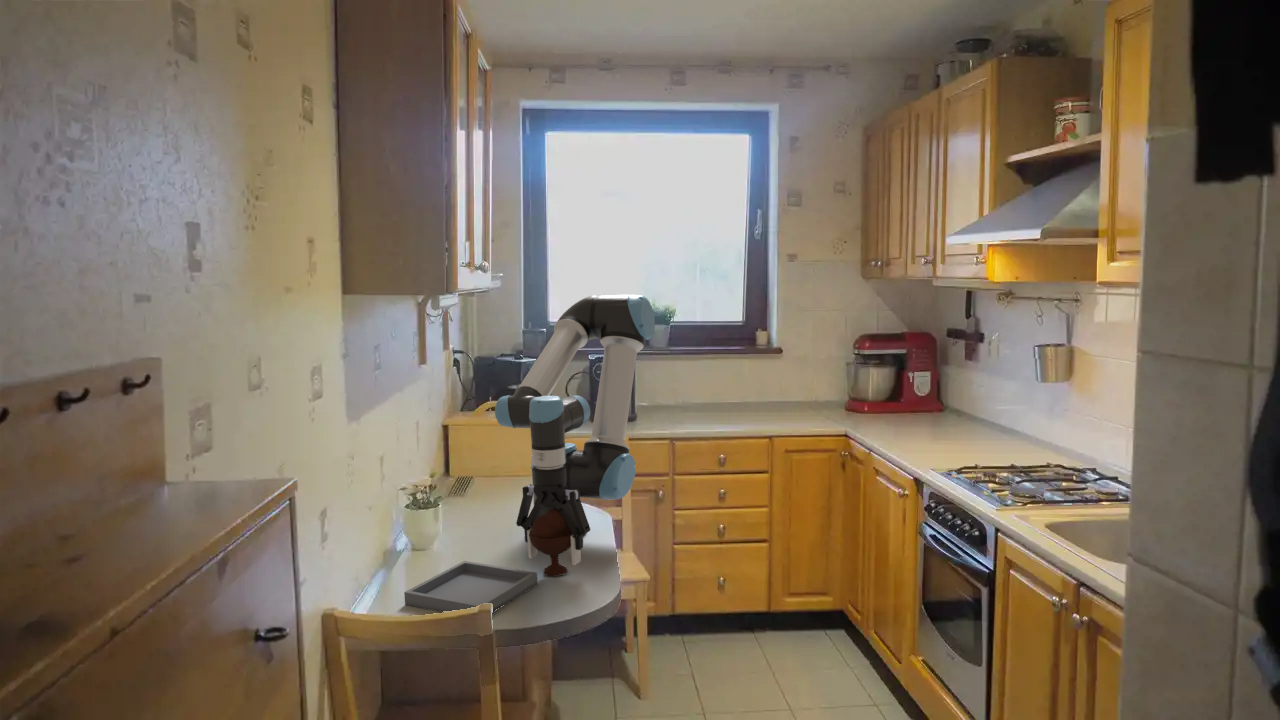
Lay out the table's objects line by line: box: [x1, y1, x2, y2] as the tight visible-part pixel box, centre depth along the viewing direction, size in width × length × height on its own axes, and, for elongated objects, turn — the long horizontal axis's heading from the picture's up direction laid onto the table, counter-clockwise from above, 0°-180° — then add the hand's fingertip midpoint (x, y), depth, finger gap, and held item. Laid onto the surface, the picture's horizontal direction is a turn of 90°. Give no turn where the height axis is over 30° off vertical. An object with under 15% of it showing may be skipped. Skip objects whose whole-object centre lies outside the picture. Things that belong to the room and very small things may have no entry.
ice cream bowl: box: [529, 508, 573, 577], centre depth 198 cm, size 11×11×15 cm
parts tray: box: [404, 560, 538, 613], centre depth 188 cm, size 20×20×3 cm
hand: (554, 559), depth 198 cm, fingers closed on ice cream bowl, 11 cm apart
